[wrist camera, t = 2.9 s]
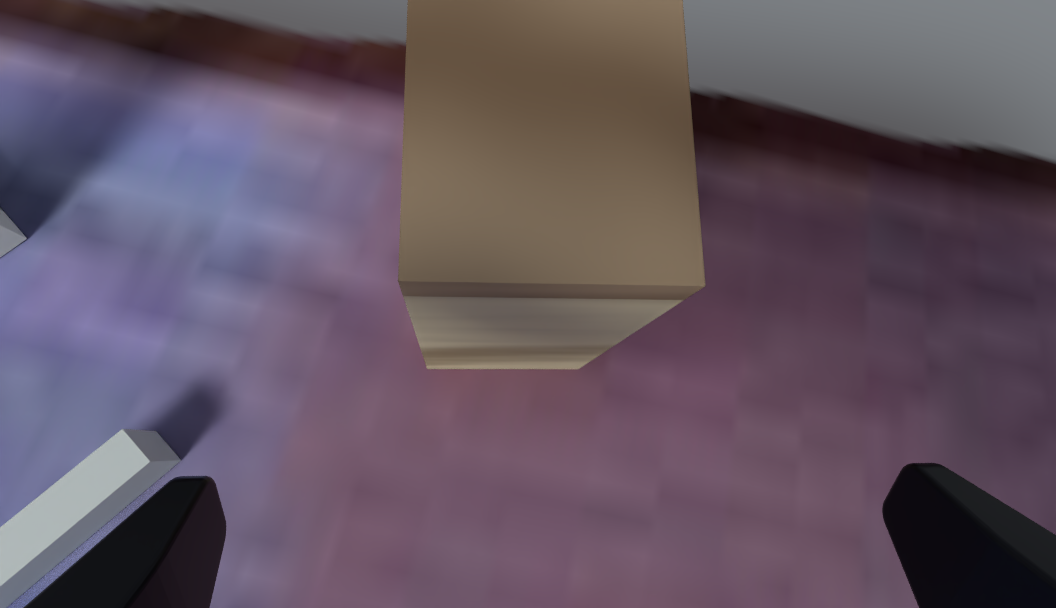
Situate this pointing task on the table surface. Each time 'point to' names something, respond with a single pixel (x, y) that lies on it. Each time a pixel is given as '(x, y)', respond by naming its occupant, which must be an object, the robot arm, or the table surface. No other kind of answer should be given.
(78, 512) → the board
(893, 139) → the table surface
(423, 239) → the beige upright block
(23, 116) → the table surface
